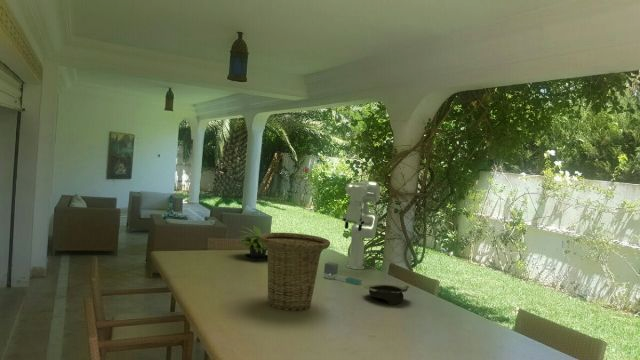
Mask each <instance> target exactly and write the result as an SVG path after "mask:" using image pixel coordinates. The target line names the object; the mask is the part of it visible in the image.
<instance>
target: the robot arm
mask: <svg viewBox="0 0 640 360" xmlns="http://www.w3.org/2000/svg"><path fill="white" fill-rule="evenodd" d="M345 193H346V194H347V195H348V196H350V198H349V204H348V207H347V210H346V213H345V214H342V216H341V217H342V220H343V221H344V228H345V229H347V230H348V229H349V222H350V221H351V222H355V223H354V224H352V225H351V228H350V235H351V241H350V251H349V262H348V264H347V265H346V268H349V269H351V270H364V269H365V266H364V264H365V261H364V254H365V253H364V252H365V242H364V240H363V239H374V238H375V236H376V233H377V232H376V231H377V228H378V221H379V218H378V215H377V213H374V212H373V213H372V212H370V207H369V205H368V204H367V202H369V203H370V202H371V203H378V202H379V201H380V197H381V194H380V185H379V182H377V181H374V180H373V181H371V180H361V181H359V182H358V181H357V182H356V181H355V182H349V183H348V184H347V185H346V186H345ZM362 238H363V239H362Z"/></svg>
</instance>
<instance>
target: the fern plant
mask: <svg viewBox="0 0 640 360" xmlns="http://www.w3.org/2000/svg"><path fill="white" fill-rule="evenodd" d="M252 226H253V227H252V228H253V230H251V229H250V228H247V227H245V226H244V229H247V230H248V231H249V232H246V231H242V230H241V231H240V230H239V232H240V233H245V234H244V235H241V236H240V238H241V240H239V238H238V239H236V242H235V241H234V243H236V244H237V245H236V247H238V246H239V247H240V246H242V245H243V246H242V247H241V249H244V248H246V252H248V251H249V253H246V254H244V257H243V258H244V259H245V260H247V261H251V262H258V263H259V262H260V263H261V262H268V254H267V251H268V250H267V246H266V245H265V244H264V243H262V242H261V241H260V236H261V235H262V232H261V228H259V227H257V226H255V225H252ZM240 227H241V228H243V226H240ZM250 232H251V233H250ZM252 233H253V234H252ZM235 238H237V237H235ZM238 243H239V244H238Z"/></svg>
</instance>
